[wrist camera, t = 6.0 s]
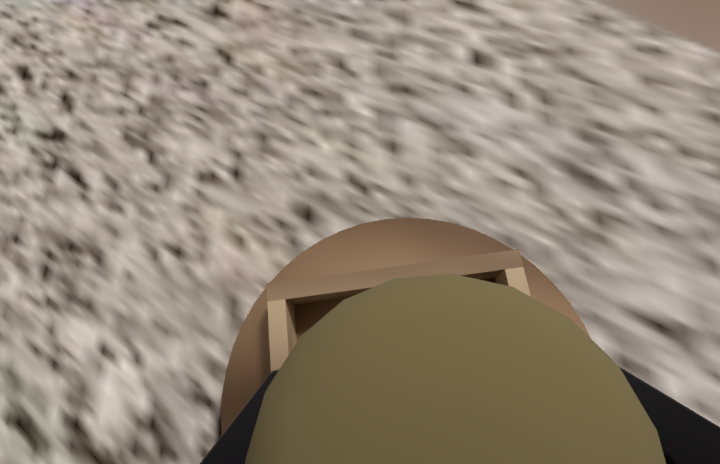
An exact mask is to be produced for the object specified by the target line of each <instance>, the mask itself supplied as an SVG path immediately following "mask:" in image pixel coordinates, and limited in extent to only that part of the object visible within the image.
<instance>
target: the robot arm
mask: <svg viewBox="0 0 720 464" xmlns="http://www.w3.org/2000/svg"><path fill="white" fill-rule="evenodd" d="M620 369H621V371H622V372H623V374H624V376H625V377H626V379H627V381H628V382H629V384H630V386H631V388H632V389H633V391H634V393H635V394H636V396H637V398H638V399H639V401H640V403H641V404H642V406H643V408H644V409H645V411H646V413H647V414H648V416H649V418H650V419H651V421H652V423H653V425H654V426H655V428H656V430H657V432H658V436H659V439H660V443H661V446H662V450H663V454H664V457H665V461H666V464H720V427H719V426H717V425H715V424H714V423H712V422H710V421H709V420H707V419H705V418H704V417H702V416H700V415H699V414H697V413H695V412H694V411H692V410H690V409H689V408H687V407H685V406H684V405H682V404H680V403H679V402H677V401H675V400H674V399H672V398H670V397H669V396H667V395H665V394H664V393H662V392H660V391H659V390H657V389H655V388H654V387H652V386H650V385H649V384H647V383H645V382H644V381H642V380H640V379H639V378H637V377H635V376H634V375H632V374H630V373H629V372H627V371H625V370H624V369H622V368H620ZM278 371H279V370H274V371H272V372H271V373H270V374H269V376H268V377H267V378H266V379H265V381H264V382H263V383H262V384H261V386H260V387H259V388H258V390H257V391H256V392H255V393H254V395H253V396H252V397H251V399H250V400H249V401H248V402H247V404H246V405H245V406H244V408H243V409H242V410H241V411H240V413H239V414H238V415H237V417H236V418H235V419H234V420H233V422H232V423H231V424H230V426H229V427H228V428H227V429H226V431H225V432H224V433H223V435H222V436H221V437H220V438H219V440H218V441H217V442H216V444H215V445H214V446H213V447H212V449H211V450H210V451H209V453H208V454H207V455H206V456H205V458H204V459H203V460H202V462H201V463H200V464H245V459H246V456H247V452H248V449H249V445H250V442H251V439H252V435H253V432H254V428H255V425H256V422H257V418H258V415H259V411H260V408H261V405H262V401H263V398H264V394H265V392H266V390H267V388H268V386H269V385H270V383H271V382H272V380H273V379H274V377H275V376H276V374H277V372H278Z"/></svg>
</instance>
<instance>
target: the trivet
mask: <svg viewBox="0 0 720 464" xmlns="http://www.w3.org/2000/svg"><path fill="white" fill-rule="evenodd" d="M441 274H456V275H460V276H465V277H469V278H474V279H479V280H483V281H488V282H492V283H497V284H502V285H506V286H511V287H514V288H516V289H517V290H519V291H521V292H523V293H525V294H527V295H528V296H530V297H532V298H534V299H536V300H538V301H539V302H541V303H543V304H545V305H547V306H549V307H550V308H552V309H554V310H556V311H558V312H560V313H561V314H563V315H565V316H567V317H569V318H570V319H571V320H572V321H573V322H574V323H575V324H576V325H577V326H578V327H579V328H580V329H581V330H582V331H583V332H584V333H585V334H586V335H587V336H588V337H589V338H590V336H589V334H588V332H587V330H586V328H585V326H584V324H583V323H582V321H581V320H580V318H579V317H578V315H577V314H576V312H575V311H574V309H573V307H572V306H571V304H570V303H569V302H568V300H567V299H566V298H565V297H564V296H563V294H562V293H561V292H560V291H559V290H558V288H557V287H556V286H555V285H554V284H553V282H551V281H550V280H549V279H548V278H547V277H546V276H545V275H544V274H543V273H542V272H541V271H540V270H539V269H538V268H537V267H536V266H535V265H533V264H532V263H531V262H529V261H528V260H527V259H525V258H524V257H523V256H521V255H520V252H519V249H517V250H513V249H511V248H509V247H508V246H506V245H504V244H502V243H501V242H499V241H497V240H496V239H494V238H492V237H489V236H487V235H485V234H482V233H480V232H478V231H475V230H473V229H470V228H466V227H463V226H460V225H456V224H453V223H449V222H443V221H437V220H431V219H418V218H398V219H386V220H379V221H374V222H369V223H365V224H360V225H357V226H354V227H352V228H349V229H346V230H343V231H340V232H338V233H336V234H334V235H332V236H330V237H327V238H325V239H323V240H321V241H320V242H318V243H316V244H315V245H313V246H312V247H310V248H309V249H307V250H306V251H304V252H302V253H301V254H300V255H299V256H298V257H296V258H295V259H294V260H293V261H292V262H290V263H289V264H288V265H287V266H285V267H284V268H283V269H282V271H281V272H280V273H279V274H278V275H277V276H276V277H275V278H274V279H273V280H272V281H271V282H270V283H269V284H266V286H267V287H266V288H265V290H264V291H263V292H262V294H261V295H260V297H259V298H258V299H257V301H256V302H255V303H254V305H253V307H252V309H251V310H250V312H249V314H248V316H247V317H246V319H245V321H244V323H243V325H242V327H241V329H240V332H239V334H238V337H237V339H236V341H235V344H234V346H233V349H232V353H231V356H230V360H229V363H228V367H227V370H226V376H225V382H224V388H223V394H222V408H221V433H222V435H223V433H224V432H225V431H226V429H227V428H228V427H229V426H230V424H231V423H232V422H233V420H234V419H235V418H236V417H237V415H238V414H239V413H240V411H241V410H242V409H243V408H244V406H245V405H246V404H247V402H248V401H249V400H250V399H251V397H252V396H253V395H254V393H255V392H256V391H257V390H258V388H259V387H260V386H261V384H262V383H263V382H264V381H265V379H266V378H267V377H268V376H269V374H270V373H271V372H272V371H274V370H279V369H280V368H281V366H282V365H283V363H284V361H285V360H286V358H287V357H288V355H289V354H290V352H291V350H292V349H293V347H294V346H295V344H296V343H297V341H298V339H299V338H300V336H302V335H303V334H304V333H305V332H306V331H308V330H309V329H310V328H311V327H312V326H313V325H315V324H316V323H317V322H318V321H319V320H320V319H322V318H323V317H324V316H325V315H326V314H327V313H329V312H330V311H331V310H332V309H333V308H335V307H336V306H337V305H338V304H339V303H340V302H342V301H343V300H344V299H347V298H349V297H352V296H354V295H356V294H359V293H361V292H363V291H366V290H368V289H371V288H373V287H375V286H378V285H380V284H382V283H385V282H387V281H390V280H392V279H395V278H407V277H418V276H430V275H441ZM590 339H591V338H590Z"/></svg>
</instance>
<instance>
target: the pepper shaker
mask: <svg viewBox="0 0 720 464" xmlns="http://www.w3.org/2000/svg"><path fill="white" fill-rule="evenodd" d="M245 464H666V461H665V457H664V454H663V450H662V446H661V443H660V439H659V436H658V432H657V430H656V428H655V426H654V425H653V423H652V421H651V419H650V418H649V416H648V414H647V413H646V411H645V409H644V408H643V406H642V404H641V403H640V401H639V399H638V398H637V396H636V394H635V393H634V391H633V389H632V388H631V386H630V384H629V382H628V381H627V379H626V377H625V376H624V374H623V372H622V371H621V369H620V367H619V366H618V365H617V364H616V363H615V362H614V361H613V360H612V359H611V358H610V357H609V356H608V355H607V354H606V353H605V352H604V351H603V350H602V349H601V348H600V347H599V346H598V345H597V344H596V343H595V342H593V341H592V340H591V339H590V338H589V337H588V336H587V335H586V334H585V333H584V332H583V331H582V330H581V329H580V328H579V327H578V326H577V325H576V324H575V323H574V322H573V321H572V320H571V319H570V318H569V317H567V316H565V315H563V314H561V313H560V312H558V311H556V310H554V309H552V308H550V307H549V306H547V305H545V304H543V303H541V302H539V301H538V300H536V299H534V298H532V297H530V296H528V295H527V294H525V293H523V292H521V291H519V290H517V289H516V288H514V287H511V286H506V285H502V284H497V283H492V282H488V281H483V280H479V279H474V278H469V277H465V276H460V275H456V274H441V275H430V276H418V277H407V278H395V279H392V280H390V281H387V282H385V283H382V284H380V285H378V286H375V287H373V288H371V289H368V290H366V291H363V292H361V293H359V294H356V295H354V296H352V297H349V298H347V299H344V300H343V301H342V302H340V303H339V304H338V305H337V306H336V307H335V308H333V309H332V310H331V311H330V312H329V313H327V314H326V315H325V316H324V317H323V318H322V319H320V320H319V321H318V322H317V323H316V324H315V325H313V326H312V327H311V328H310V329H309V330H308V331H306V332H305V333H304V334H303V335H302V336H300V338H299V339H298V341H297V343H296V344H295V346H294V347H293V349H292V350H291V352H290V354H289V355H288V357H287V358H286V360H285V361H284V363H283V365H282V366H281V368H280V369H279V371H278V372H277V374H276V376H275V377H274V379H273V380H272V382H271V383H270V385H269V386H268V388H267V390H266V392H265V394H264V398H263V401H262V405H261V408H260V411H259V415H258V418H257V422H256V425H255V428H254V432H253V435H252V439H251V442H250V445H249V449H248V452H247V456H246V459H245Z"/></svg>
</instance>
